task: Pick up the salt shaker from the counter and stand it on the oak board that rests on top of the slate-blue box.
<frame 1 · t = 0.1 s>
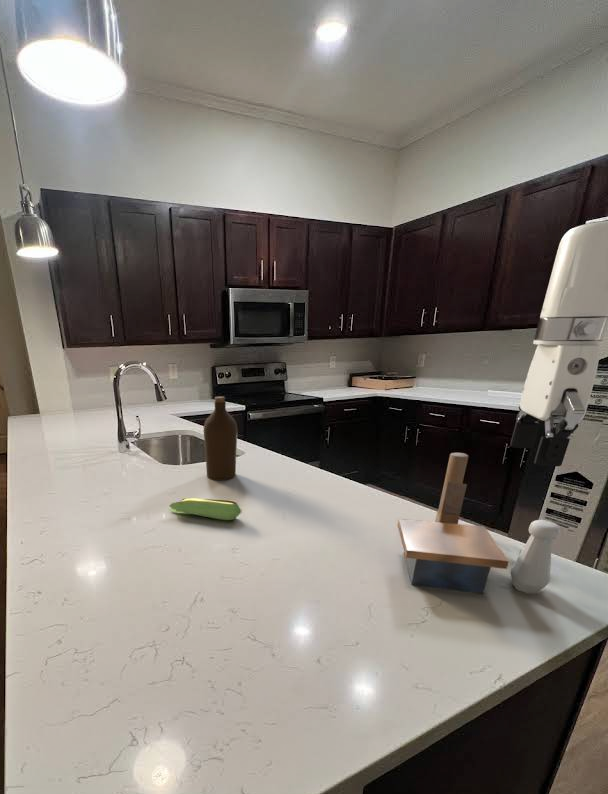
hand: (533, 455, 63), 26 cm above the counter, tool pointing down, fingers open, 9 cm apart
wooden block: (443, 534, 96), on the counter
olive oil: (221, 476, 137), on the counter
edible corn: (203, 516, 107), on the counter
stand: (440, 572, 81), on the counter
salt shaker: (525, 588, 76), on the counter
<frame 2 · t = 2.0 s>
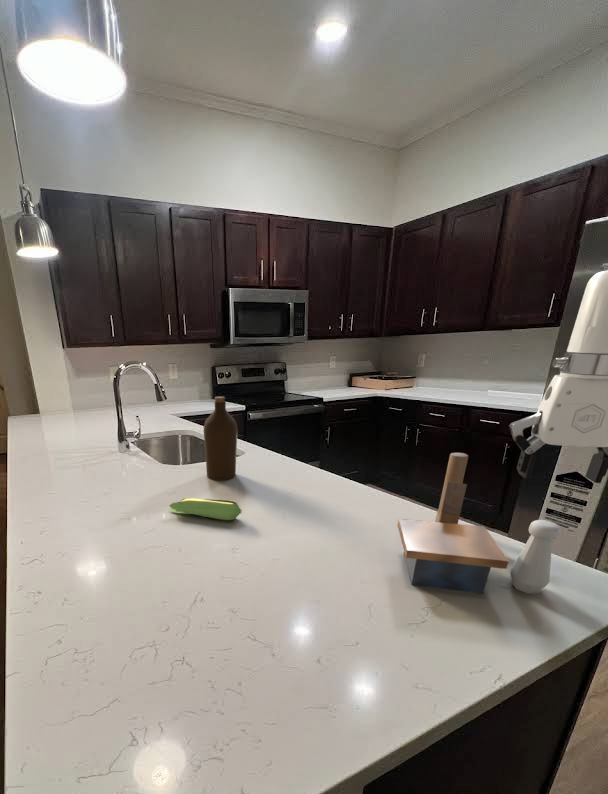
hand: (557, 478, 68), 21 cm above the counter, tool pointing down, fingers open, 9 cm apart
nothing on the counter moved.
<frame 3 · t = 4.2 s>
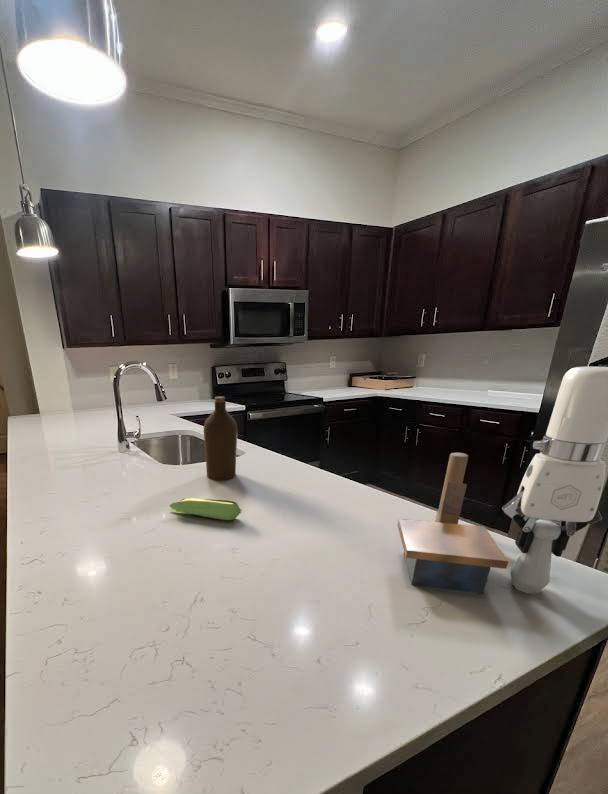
hand: (538, 550, 73), 8 cm above the counter, tool pointing down, fingers closed on salt shaker, 4 cm apart
salt shaker: (525, 588, 76), on the counter, touching gripper
everything else where it was.
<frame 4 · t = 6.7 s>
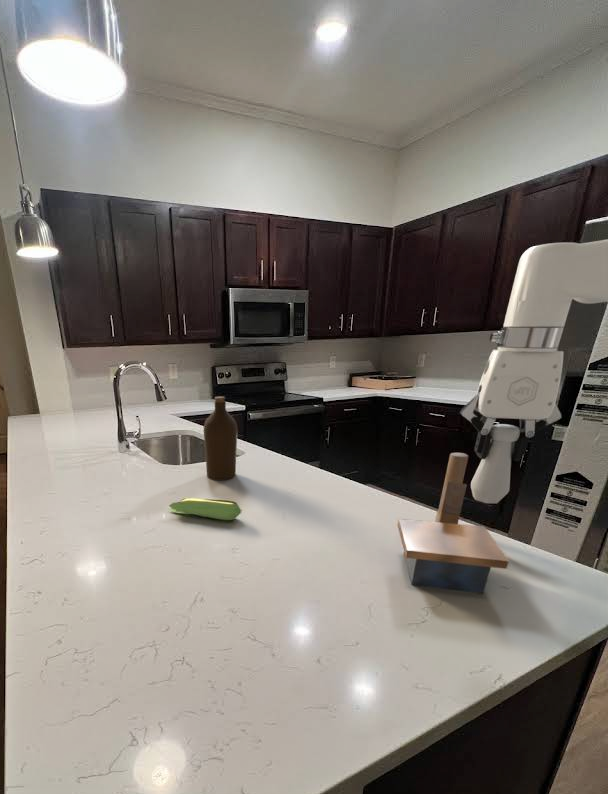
hand: (497, 456, 70), 24 cm above the counter, tool pointing down, fingers closed on salt shaker, 4 cm apart
salt shaker: (486, 500, 73), point 16 cm above the counter, touching gripper
everything else where it was.
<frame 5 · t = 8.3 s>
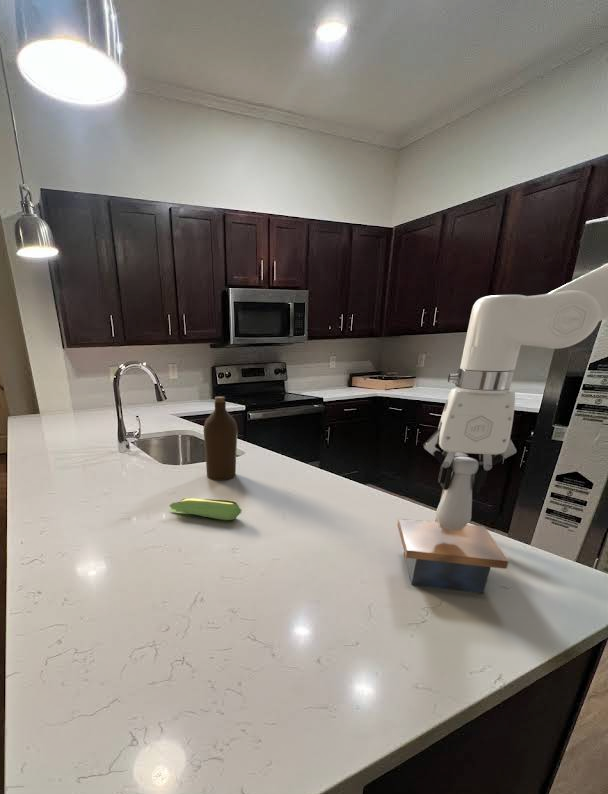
hand: (459, 487, 74), 18 cm above the counter, tool pointing down, fingers closed on salt shaker, 4 cm apart
salt shaker: (450, 527, 78), point 10 cm above the counter, touching gripper
everything else where it was.
when the fingers open (15 cm above the counter, at t = 9.3 s): salt shaker stays where it is, resting on stand.
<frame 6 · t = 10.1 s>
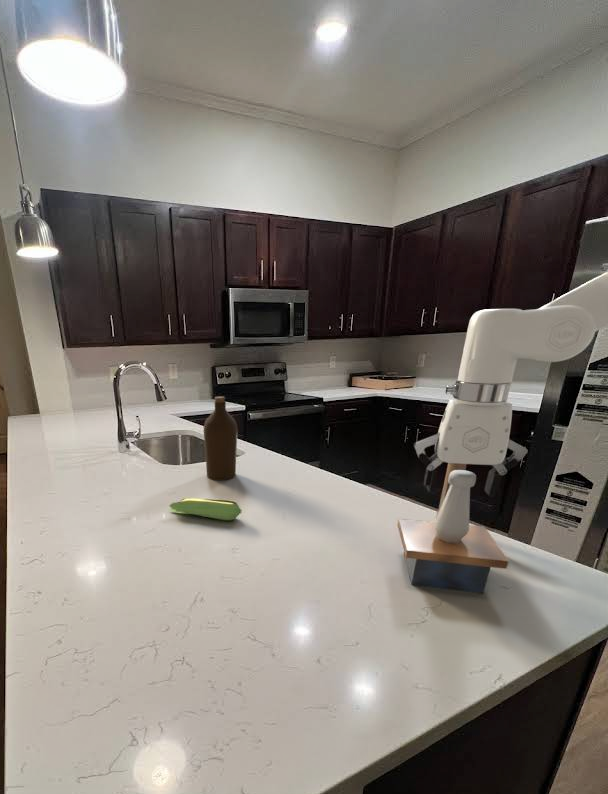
hand: (458, 491, 75), 17 cm above the counter, tool pointing down, fingers open, 9 cm apart
salt shaker: (448, 538, 78), point 7 cm above the counter, touching stand
everything else where it was.
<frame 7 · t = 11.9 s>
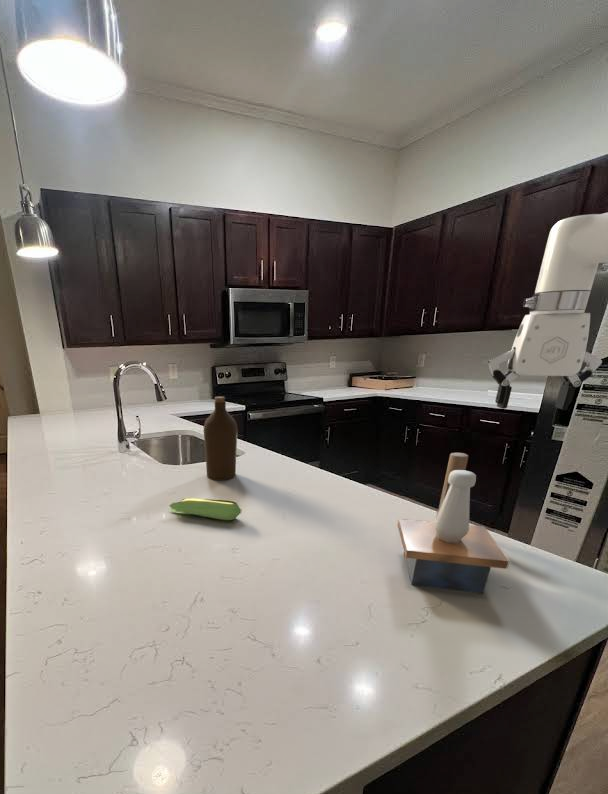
hand: (530, 408, 77), 30 cm above the counter, tool pointing down, fingers open, 9 cm apart
nothing on the counter moved.
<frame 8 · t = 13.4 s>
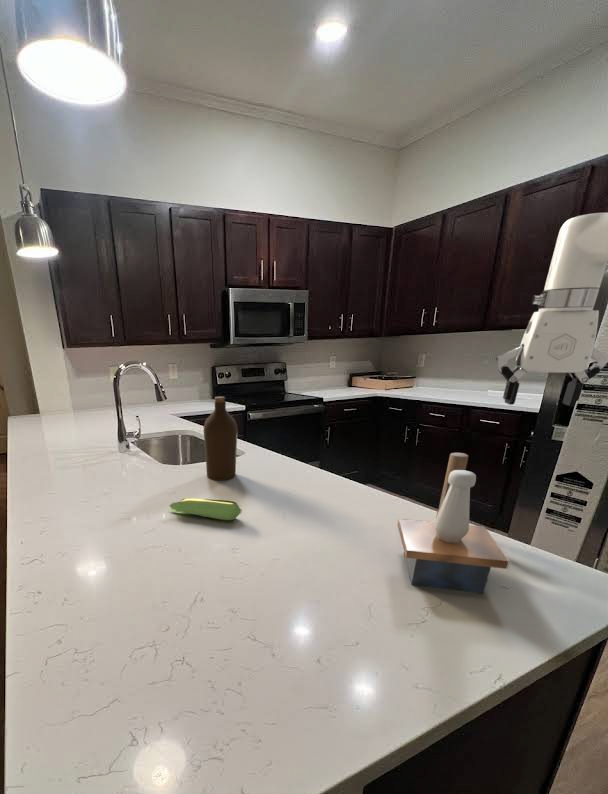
hand: (538, 404, 78), 30 cm above the counter, tool pointing down, fingers open, 9 cm apart
nothing on the counter moved.
at the end: salt shaker inside the target area on the stand (0.1 cm from its centre), point 7.3 cm above the stand's base; salt shaker tilted 0°; the gripper is holding nothing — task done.
